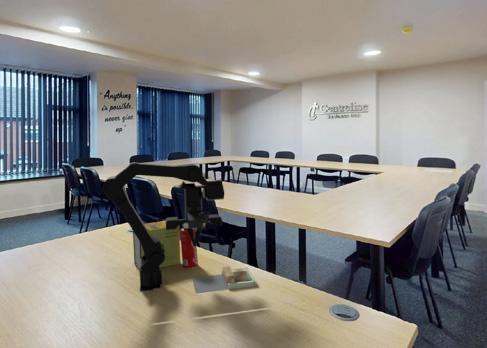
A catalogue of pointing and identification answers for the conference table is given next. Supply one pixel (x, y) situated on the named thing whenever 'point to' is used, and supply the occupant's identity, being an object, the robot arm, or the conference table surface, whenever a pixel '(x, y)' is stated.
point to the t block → (234, 275)
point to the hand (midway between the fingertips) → (194, 246)
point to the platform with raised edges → (220, 283)
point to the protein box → (166, 238)
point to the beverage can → (188, 250)
